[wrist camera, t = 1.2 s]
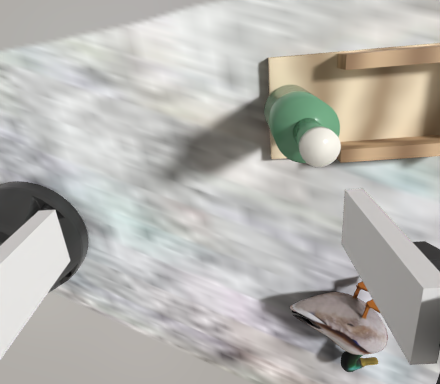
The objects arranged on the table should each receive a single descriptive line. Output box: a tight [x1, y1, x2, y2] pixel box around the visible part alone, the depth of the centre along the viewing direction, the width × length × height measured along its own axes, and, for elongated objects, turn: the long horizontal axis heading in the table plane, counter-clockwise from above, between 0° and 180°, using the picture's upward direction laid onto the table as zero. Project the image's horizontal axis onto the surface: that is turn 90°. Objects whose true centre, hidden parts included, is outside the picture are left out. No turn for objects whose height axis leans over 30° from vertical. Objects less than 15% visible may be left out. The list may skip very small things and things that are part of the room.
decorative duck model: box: [290, 281, 388, 372], centre depth 48 cm, size 15×8×15 cm
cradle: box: [268, 43, 440, 163], centre depth 36 cm, size 22×11×6 cm, turn 95°
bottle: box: [264, 85, 341, 167], centre depth 32 cm, size 5×5×15 cm
